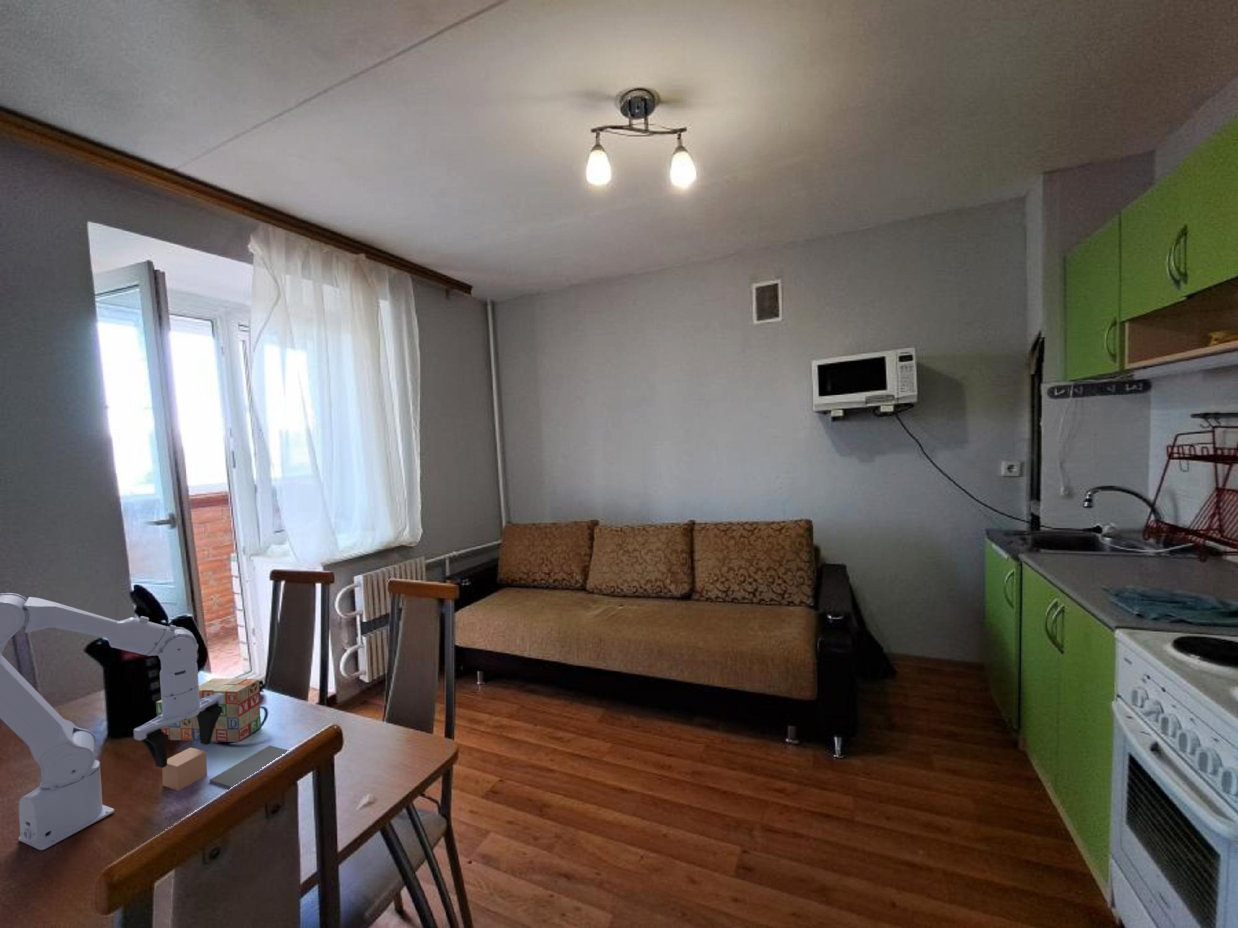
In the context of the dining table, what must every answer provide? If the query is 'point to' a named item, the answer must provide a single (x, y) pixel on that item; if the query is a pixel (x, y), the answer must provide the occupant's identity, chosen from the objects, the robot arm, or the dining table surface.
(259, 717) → the stack of blocks
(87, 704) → the dining table surface
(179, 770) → the tan cube
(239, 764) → the charcoal mat
